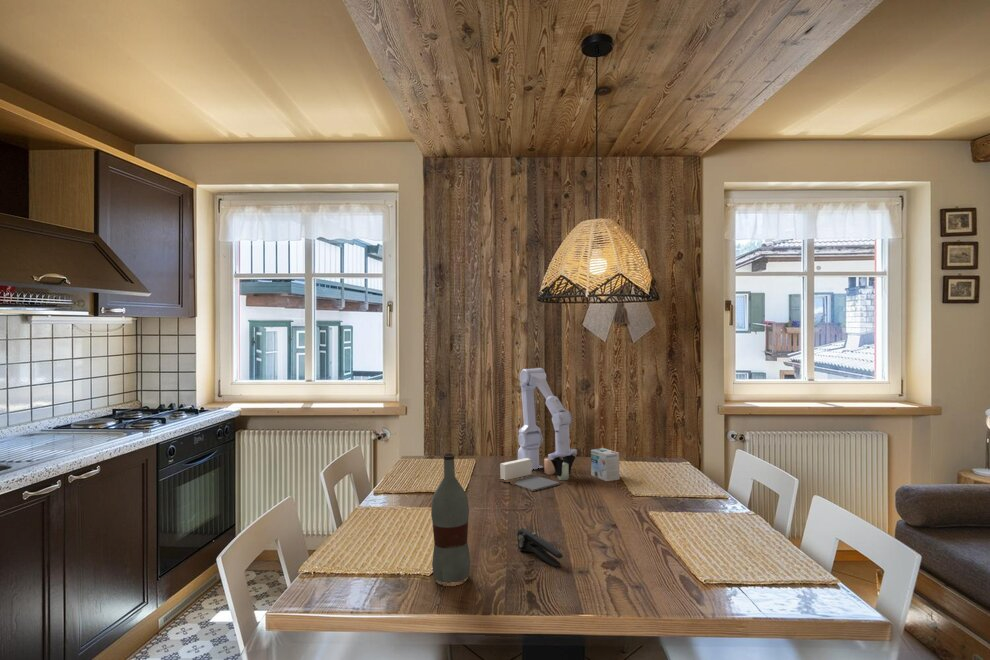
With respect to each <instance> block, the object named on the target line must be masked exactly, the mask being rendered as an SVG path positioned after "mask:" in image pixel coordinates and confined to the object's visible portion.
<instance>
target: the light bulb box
mask: <svg viewBox="0 0 990 660" xmlns="http://www.w3.org/2000/svg"><path fill="white" fill-rule="evenodd" d="M590 462H591V463H590V464H591V467H590V469H591V471H590V473H591V476H592V477H595V478H598V479H600V480H602V481H605V482H612V481H617V480H621V479H620V478H621V477H620V452H618V451H615V450H610V449H608V448H604V447H600V448H595V449H591V450H590Z"/></svg>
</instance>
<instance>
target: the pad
mask: <svg viewBox="0 0 990 660" xmlns="http://www.w3.org/2000/svg"><path fill="white" fill-rule="evenodd" d="M515 484H517V485H519V486H522V487H524V488H527V489H529V490H532V491H534V490H538V491H540V490H539V489H542V490H544V489H543V488H545V489H548V488H547V487H549V488H552V486H553V487H556V485H557V486H560V485H561V483H560V482H559V481H555V480H552V479H548V478H545V477H542V476H539V475H533V476H531V477H527V478H523V479H519V480H516V483H515ZM529 490H528V491H529ZM532 491H531V492H532ZM534 492H535V491H534Z"/></svg>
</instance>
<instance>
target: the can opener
mask: <svg viewBox="0 0 990 660" xmlns="http://www.w3.org/2000/svg"><path fill="white" fill-rule="evenodd" d="M516 533H517V534H516V536H517V539H516V540H517V547H518V550H520V551H522V550H523V552H532V553H535V554H536V555H537V556H538V557H539V558H540V559H542V560H543V561H544V562H546V563H547V564H549V565H551V566H552V567H554V568H557V567H559V568H561V567H562V564H561V562H560V561H558V560H557V559H562V558H563V556H564V555H563V554H562V552H560V551H559V550H558V549H557V548H556V547H555V546H553V545H552V544H550V543H549V542H548V541H546V540H545V539H544V538H542V537H541V536H539V535H537V533H536V532H531V531H530V530H528V529H526V528H519V529H518V531H517V532H516ZM553 556H554V557H553ZM556 558H557V559H556Z"/></svg>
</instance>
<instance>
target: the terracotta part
mask: <svg viewBox="0 0 990 660" xmlns="http://www.w3.org/2000/svg"><path fill="white" fill-rule="evenodd" d="M543 461H544V462H543V464H544V466H543V468H544V474H545V473H546V474H545V475H555V474H556V471H555V468H554V465H553V463H552V462H551V460H550V459H548V457H544V459H543ZM554 473H555V474H554Z"/></svg>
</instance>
